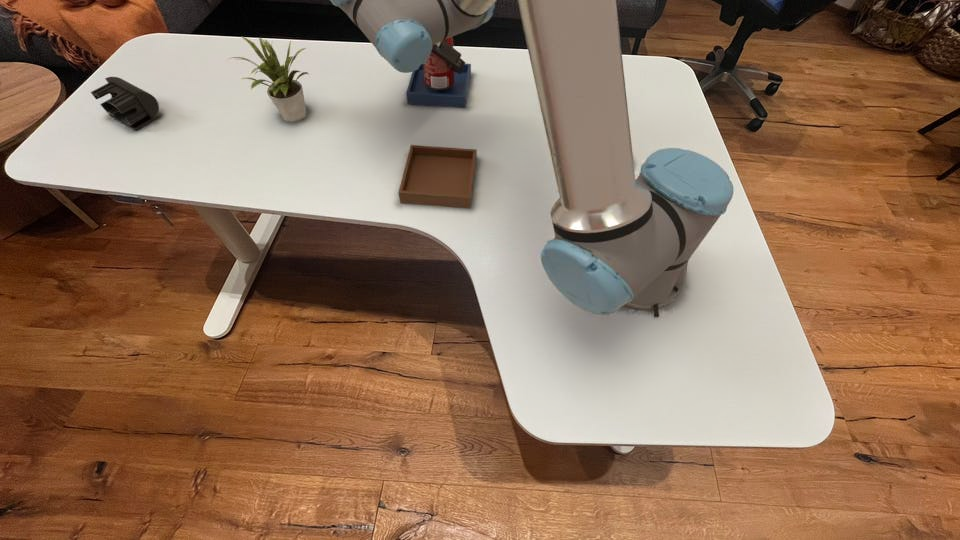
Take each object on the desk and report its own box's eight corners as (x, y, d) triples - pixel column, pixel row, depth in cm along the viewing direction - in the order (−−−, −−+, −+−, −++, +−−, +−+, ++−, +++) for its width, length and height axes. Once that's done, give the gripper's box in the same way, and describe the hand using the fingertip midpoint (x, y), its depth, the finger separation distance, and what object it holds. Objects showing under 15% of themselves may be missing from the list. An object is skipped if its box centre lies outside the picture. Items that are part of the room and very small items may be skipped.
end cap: (167, 114, 95) (147, 86, 89) (137, 132, 91) (115, 104, 86) (138, 99, 98) (118, 71, 92) (108, 115, 94) (85, 87, 89)
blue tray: (465, 108, 98) (465, 97, 96) (407, 104, 98) (406, 93, 96) (470, 74, 105) (471, 63, 103) (417, 71, 106) (415, 60, 104)
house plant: (240, 121, 94) (202, 47, 80) (285, 88, 101) (256, 14, 87) (292, 142, 90) (260, 68, 77) (334, 106, 97) (312, 33, 84)
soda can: (450, 94, 99) (448, 42, 89) (421, 90, 99) (416, 38, 89) (457, 78, 102) (456, 25, 93) (429, 74, 103) (425, 21, 93)
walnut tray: (470, 208, 81) (470, 198, 79) (400, 203, 82) (398, 192, 79) (476, 160, 89) (476, 149, 86) (412, 155, 89) (410, 144, 87)
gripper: (344, 22, 82) (408, 64, 103) (427, 55, 76) (477, 93, 98) (357, -20, 80) (420, 32, 102) (443, 12, 75) (491, 60, 96)
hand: (448, 62), depth 100 cm, fingers closed on soda can, 7 cm apart
